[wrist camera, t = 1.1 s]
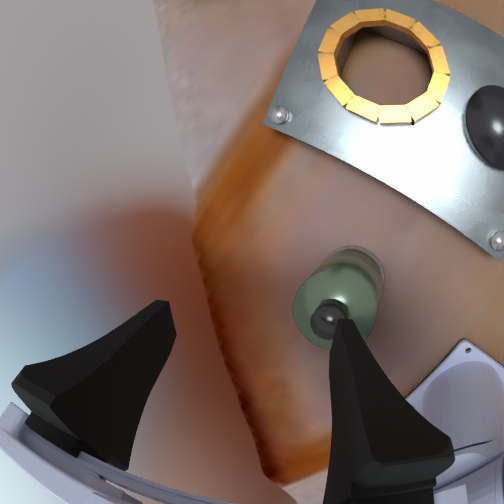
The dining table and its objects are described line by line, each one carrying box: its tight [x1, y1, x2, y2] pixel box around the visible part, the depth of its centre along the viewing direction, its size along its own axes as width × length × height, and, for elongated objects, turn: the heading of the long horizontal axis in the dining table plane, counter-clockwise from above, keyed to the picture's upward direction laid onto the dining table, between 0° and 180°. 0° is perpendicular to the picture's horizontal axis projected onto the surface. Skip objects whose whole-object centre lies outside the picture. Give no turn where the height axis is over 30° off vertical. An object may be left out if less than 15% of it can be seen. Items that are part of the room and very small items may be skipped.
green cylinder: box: [293, 246, 384, 350], centre depth 17 cm, size 5×5×7 cm
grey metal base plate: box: [262, 0, 504, 262], centre depth 12 cm, size 20×14×3 cm
